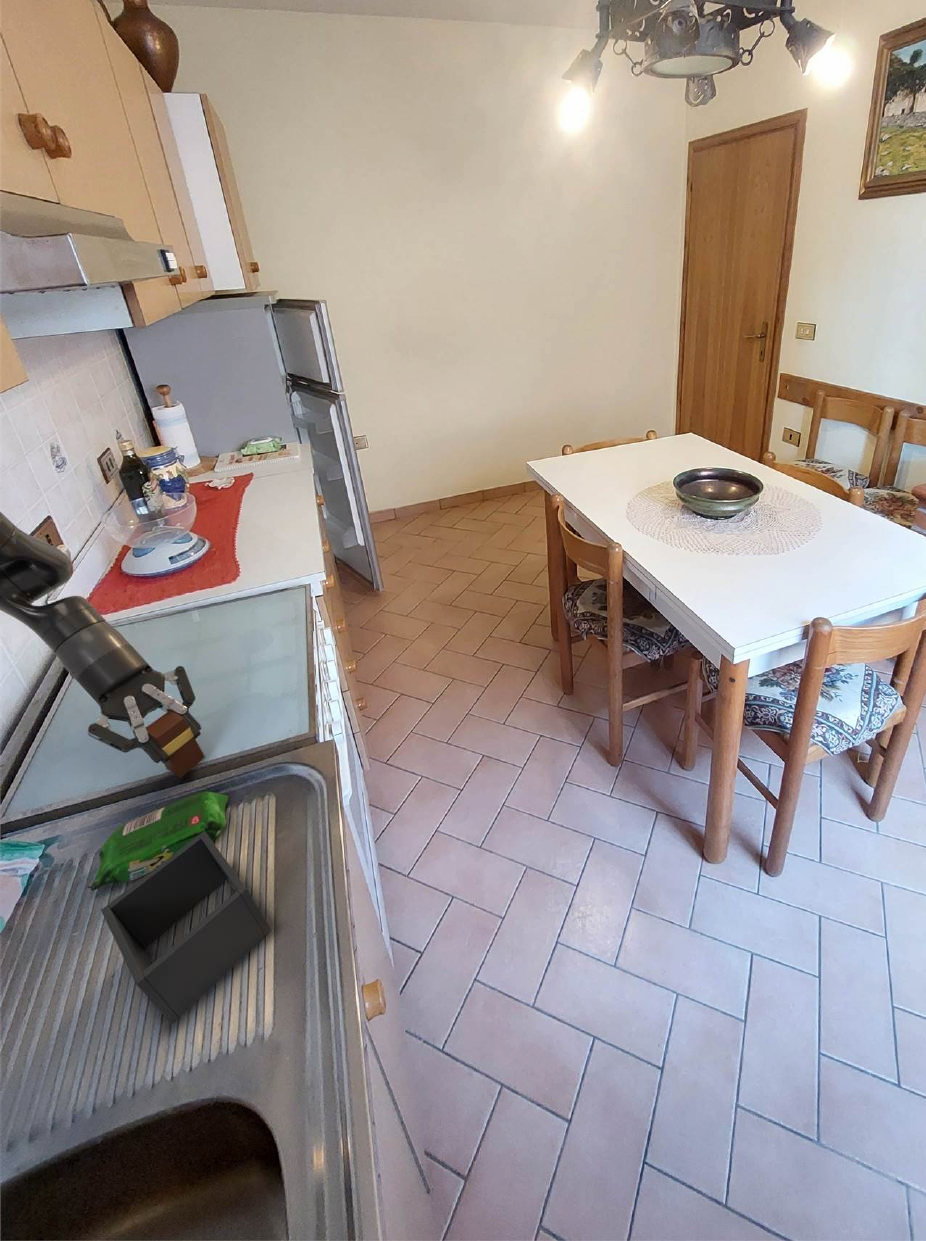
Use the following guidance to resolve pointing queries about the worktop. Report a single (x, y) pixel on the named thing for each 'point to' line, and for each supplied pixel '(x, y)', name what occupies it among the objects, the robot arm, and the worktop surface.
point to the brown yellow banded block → (176, 742)
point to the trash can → (200, 950)
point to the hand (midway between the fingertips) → (182, 747)
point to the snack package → (159, 837)
